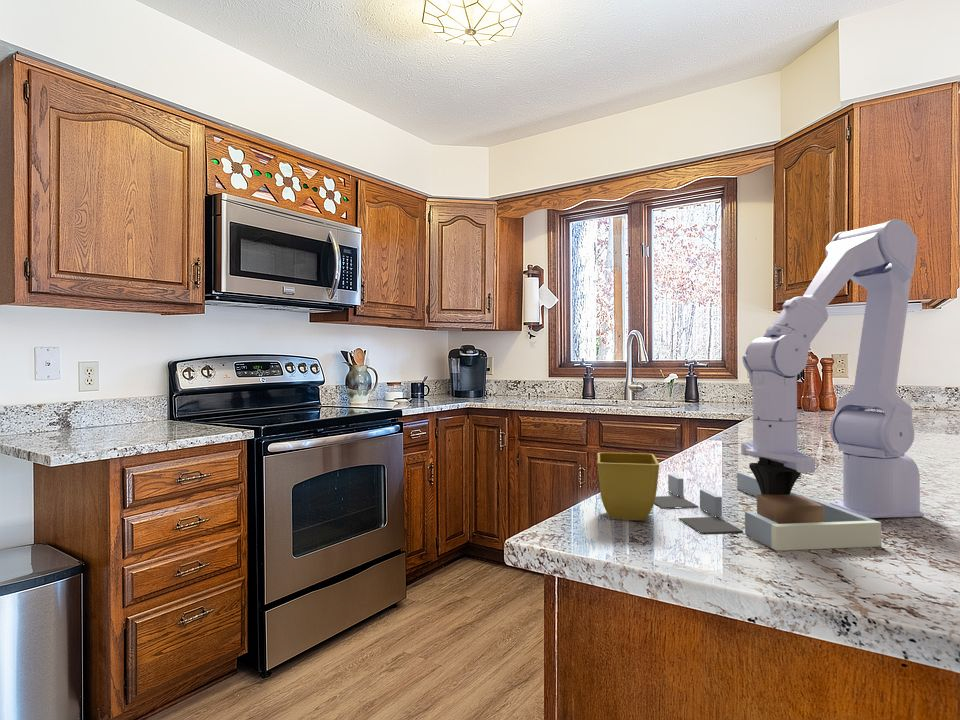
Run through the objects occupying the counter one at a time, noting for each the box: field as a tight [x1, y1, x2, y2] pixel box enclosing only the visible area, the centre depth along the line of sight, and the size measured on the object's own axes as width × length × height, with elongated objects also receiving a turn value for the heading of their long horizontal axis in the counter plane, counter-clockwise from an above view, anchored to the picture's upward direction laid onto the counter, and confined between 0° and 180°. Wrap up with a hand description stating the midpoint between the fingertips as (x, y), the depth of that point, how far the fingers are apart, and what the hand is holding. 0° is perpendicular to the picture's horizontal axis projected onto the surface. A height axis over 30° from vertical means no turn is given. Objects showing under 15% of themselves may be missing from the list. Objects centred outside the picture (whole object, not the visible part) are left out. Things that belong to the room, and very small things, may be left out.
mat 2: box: [678, 516, 744, 534], centre depth 81 cm, size 6×7×1 cm
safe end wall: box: [770, 519, 882, 551], centre depth 72 cm, size 14×1×3 cm, turn 95°
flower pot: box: [596, 451, 660, 522], centre depth 86 cm, size 9×9×9 cm
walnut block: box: [756, 494, 823, 524], centre depth 78 cm, size 6×6×4 cm
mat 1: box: [653, 495, 699, 509], centre depth 94 cm, size 6×7×1 cm
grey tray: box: [667, 471, 874, 549], centre depth 88 cm, size 14×31×3 cm, turn 5°
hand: (775, 513), depth 82 cm, fingers closed
